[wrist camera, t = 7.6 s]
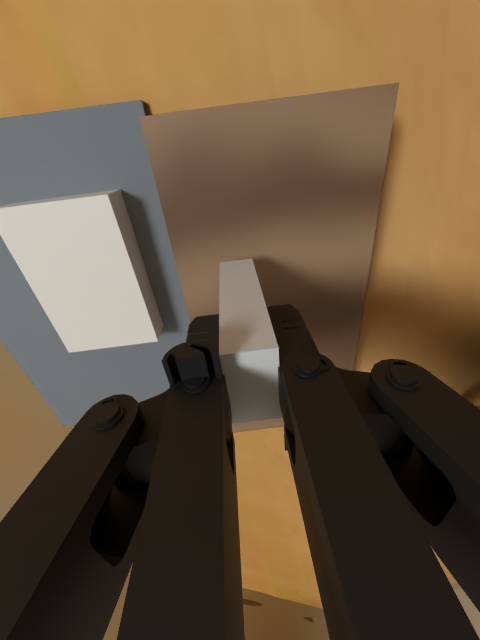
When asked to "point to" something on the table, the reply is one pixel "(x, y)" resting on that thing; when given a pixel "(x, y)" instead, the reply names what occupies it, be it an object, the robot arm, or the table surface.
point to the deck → (278, 203)
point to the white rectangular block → (84, 268)
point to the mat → (150, 231)
